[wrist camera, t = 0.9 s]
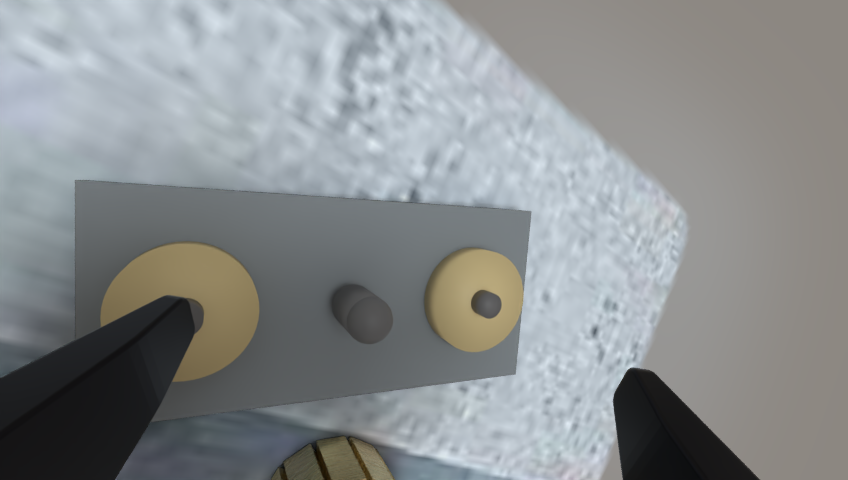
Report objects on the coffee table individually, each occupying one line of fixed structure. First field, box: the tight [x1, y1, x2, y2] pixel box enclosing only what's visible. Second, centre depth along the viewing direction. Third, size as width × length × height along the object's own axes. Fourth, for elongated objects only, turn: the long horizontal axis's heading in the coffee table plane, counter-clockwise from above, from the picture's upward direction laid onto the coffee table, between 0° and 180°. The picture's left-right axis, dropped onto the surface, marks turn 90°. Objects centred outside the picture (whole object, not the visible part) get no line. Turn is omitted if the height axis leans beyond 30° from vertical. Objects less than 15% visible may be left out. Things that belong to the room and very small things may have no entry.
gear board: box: [75, 180, 531, 422], centre depth 18 cm, size 9×20×6 cm, turn 85°
